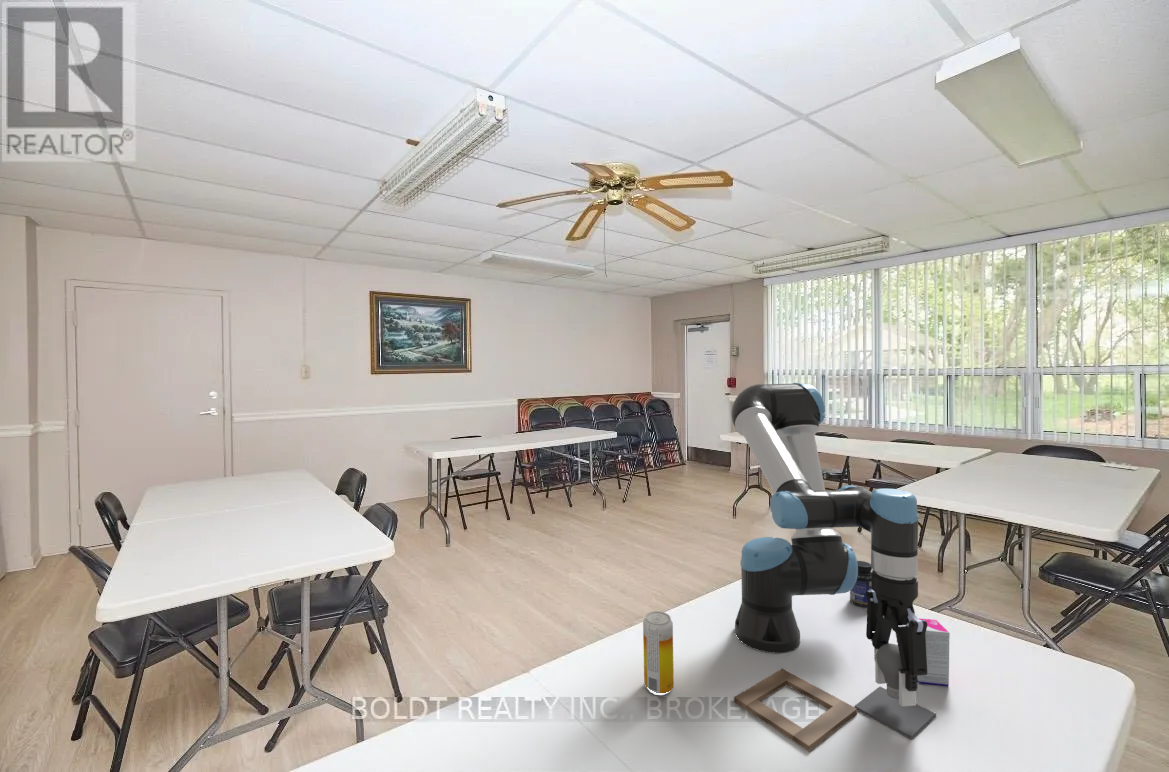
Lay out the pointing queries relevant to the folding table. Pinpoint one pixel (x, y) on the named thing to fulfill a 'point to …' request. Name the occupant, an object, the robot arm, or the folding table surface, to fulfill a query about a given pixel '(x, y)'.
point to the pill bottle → (861, 584)
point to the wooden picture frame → (802, 736)
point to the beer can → (658, 652)
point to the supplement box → (936, 655)
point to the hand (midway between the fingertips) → (894, 692)
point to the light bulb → (890, 667)
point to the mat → (895, 713)
